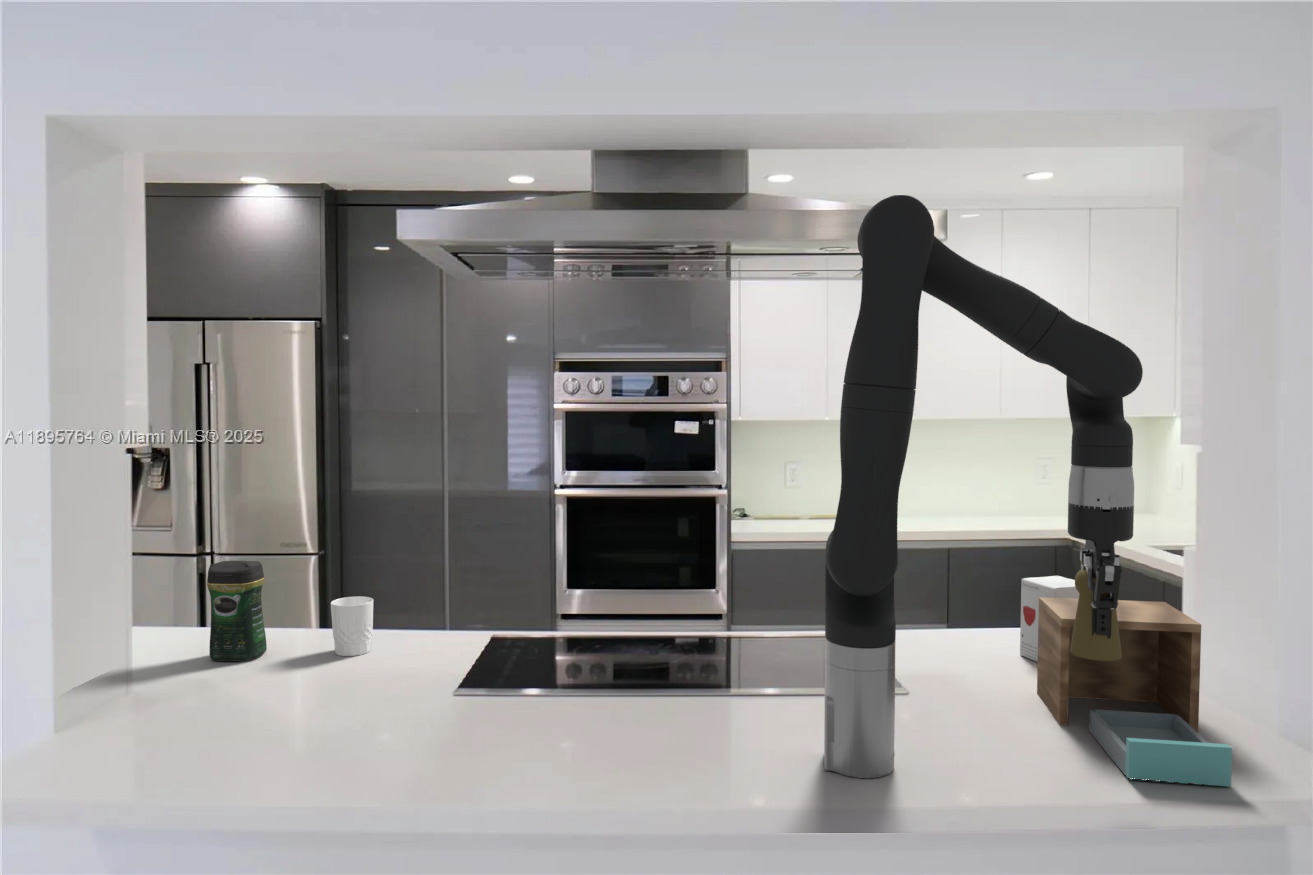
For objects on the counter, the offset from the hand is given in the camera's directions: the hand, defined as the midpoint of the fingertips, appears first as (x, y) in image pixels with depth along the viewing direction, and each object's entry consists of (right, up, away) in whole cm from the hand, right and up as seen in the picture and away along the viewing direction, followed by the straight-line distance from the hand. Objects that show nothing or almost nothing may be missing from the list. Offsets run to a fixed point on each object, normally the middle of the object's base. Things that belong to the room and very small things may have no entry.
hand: (1097, 633), depth 113 cm
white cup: (-116, -17, +59) cm, 131 cm away
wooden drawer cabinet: (+15, -18, +25) cm, 34 cm away
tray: (+12, -19, +8) cm, 23 cm away
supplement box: (+18, -17, +52) cm, 57 cm away
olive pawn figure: (0, -3, 0) cm, 3 cm away
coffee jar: (-137, -17, +55) cm, 149 cm away
